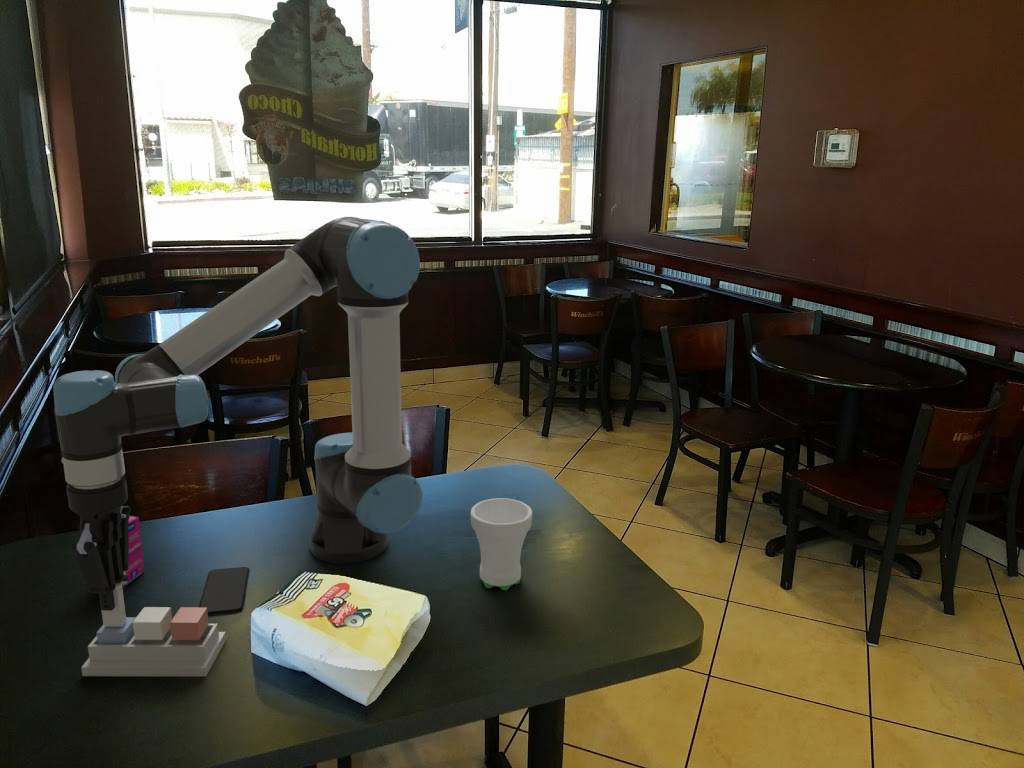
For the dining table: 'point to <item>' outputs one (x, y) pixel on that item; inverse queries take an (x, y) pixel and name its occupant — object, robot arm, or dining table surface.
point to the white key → (152, 623)
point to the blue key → (116, 633)
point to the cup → (501, 539)
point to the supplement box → (134, 551)
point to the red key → (189, 623)
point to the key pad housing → (156, 656)
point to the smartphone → (225, 590)
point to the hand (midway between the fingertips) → (115, 623)
